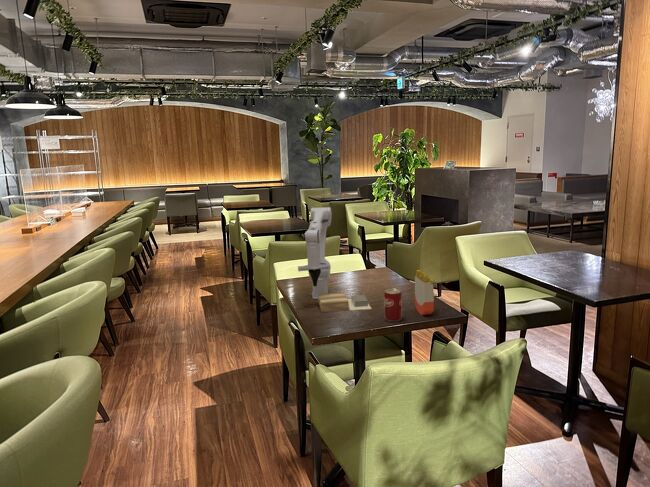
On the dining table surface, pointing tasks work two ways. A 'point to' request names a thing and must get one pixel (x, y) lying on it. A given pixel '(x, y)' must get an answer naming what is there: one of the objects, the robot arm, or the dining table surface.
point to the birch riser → (333, 302)
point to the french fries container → (424, 293)
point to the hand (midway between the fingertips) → (315, 285)
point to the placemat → (353, 308)
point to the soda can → (392, 305)
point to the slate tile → (359, 300)
